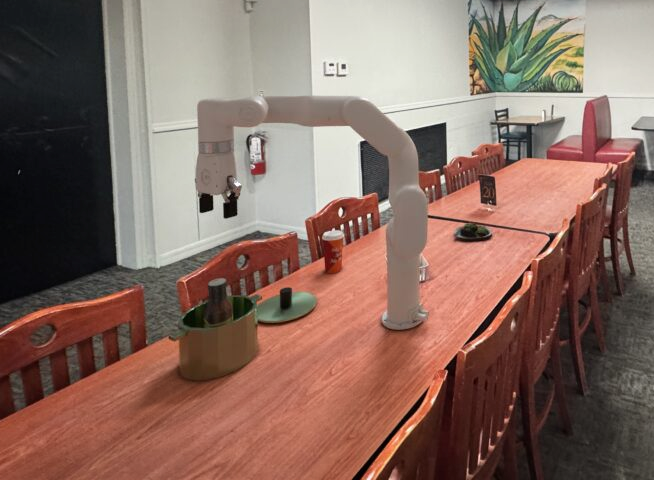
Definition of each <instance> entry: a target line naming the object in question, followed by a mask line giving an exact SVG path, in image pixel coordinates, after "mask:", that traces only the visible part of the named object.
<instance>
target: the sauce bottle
mask: <svg viewBox="0 0 654 480" xmlns="http://www.w3.org/2000/svg"><path fill="white" fill-rule="evenodd" d="M227 281H228V280H227V279H226V278H222V277H221V278H220V277H219V278H216V279H212V280H211V281H209V282H208V283H207V290H208V300H209V301H208V300H207V301H208V304H207V307H206V309H205V312H204V328H207V327H214V326H219V325H222V324H225V323H229V322H232V321H233V312H232V304H231V302H230V300H229V299H228V298H227V297H226V296H228V294H227V285H228V283H227Z"/></svg>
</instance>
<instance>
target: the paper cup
mask: <svg viewBox="0 0 654 480" xmlns="http://www.w3.org/2000/svg"><path fill="white" fill-rule="evenodd" d="M344 237H345V234H344V232H343V231H342V230H339V229H334V230H333V229H332V230H328V231H325V232H323V234H322V237H321V240H322V245H323V260H324V270H325V273H327V274H336V273H339V272H340V271H342V267H343V266H342V262H343V248H344V247H343V246H344Z"/></svg>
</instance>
